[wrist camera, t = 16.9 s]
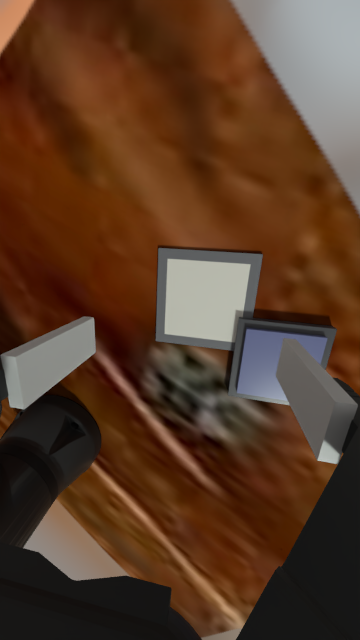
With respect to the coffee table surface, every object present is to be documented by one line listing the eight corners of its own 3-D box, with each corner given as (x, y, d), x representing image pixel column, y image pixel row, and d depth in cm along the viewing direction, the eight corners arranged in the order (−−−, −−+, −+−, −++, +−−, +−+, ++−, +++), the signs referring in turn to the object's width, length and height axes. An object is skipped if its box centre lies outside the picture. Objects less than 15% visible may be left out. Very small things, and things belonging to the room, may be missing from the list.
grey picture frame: (156, 340, 31) (155, 340, 31) (159, 247, 28) (158, 247, 28) (246, 351, 30) (246, 352, 29) (262, 254, 26) (262, 254, 26)
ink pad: (227, 390, 32) (228, 398, 30) (238, 316, 28) (239, 320, 27) (310, 403, 30) (316, 412, 28) (332, 325, 27) (339, 330, 25)
